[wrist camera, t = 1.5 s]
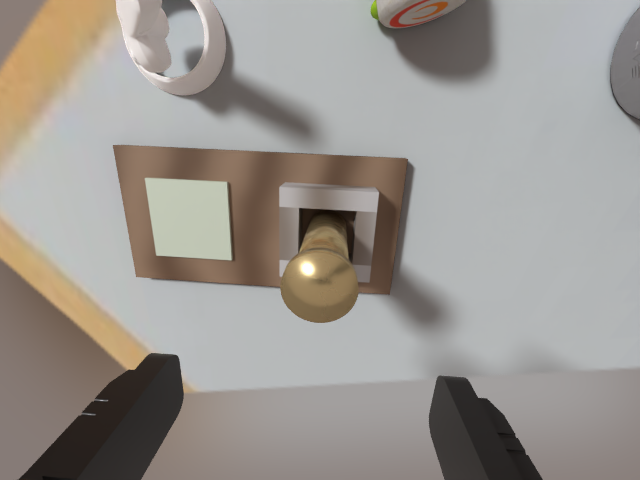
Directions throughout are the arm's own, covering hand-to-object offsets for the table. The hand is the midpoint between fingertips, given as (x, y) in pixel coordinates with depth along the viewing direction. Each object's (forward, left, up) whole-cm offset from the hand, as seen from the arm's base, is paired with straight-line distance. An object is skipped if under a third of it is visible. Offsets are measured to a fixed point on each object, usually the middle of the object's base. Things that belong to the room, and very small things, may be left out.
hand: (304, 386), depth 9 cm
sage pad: (+12, 0, -17) cm, 21 cm away
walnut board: (+6, 0, -18) cm, 19 cm away
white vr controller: (+12, -14, -19) cm, 26 cm away
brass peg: (0, 0, -17) cm, 17 cm away
